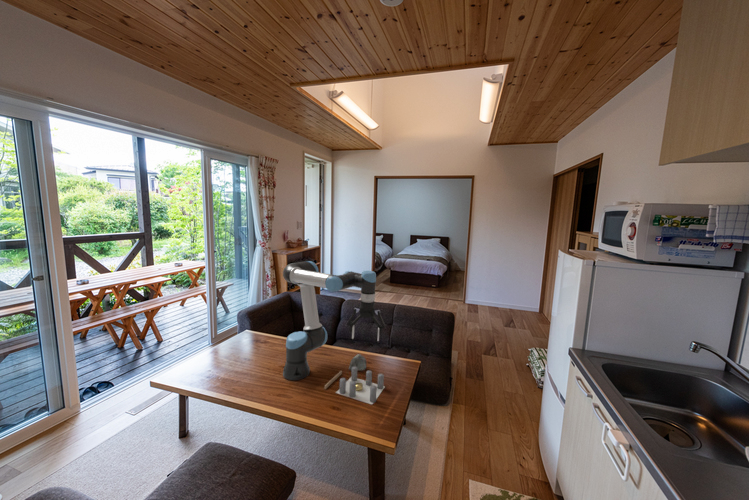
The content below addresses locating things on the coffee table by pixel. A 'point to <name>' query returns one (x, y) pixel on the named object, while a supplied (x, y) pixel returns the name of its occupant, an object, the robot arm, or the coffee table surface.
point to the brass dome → (359, 386)
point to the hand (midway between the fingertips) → (365, 338)
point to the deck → (369, 388)
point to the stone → (358, 362)
